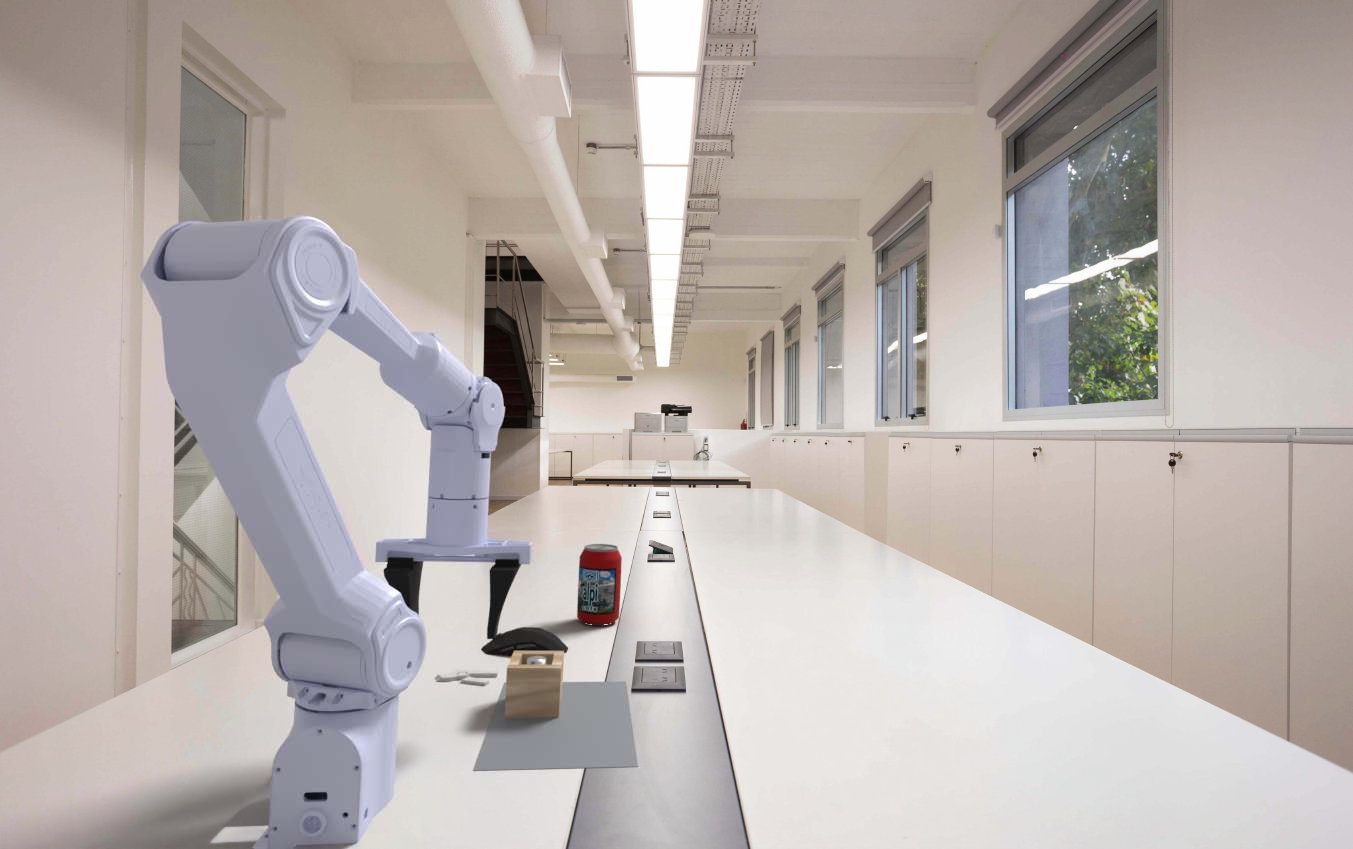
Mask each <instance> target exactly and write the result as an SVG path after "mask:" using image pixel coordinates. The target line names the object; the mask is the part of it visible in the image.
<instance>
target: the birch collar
mask: <svg viewBox="0 0 1353 849" xmlns="http://www.w3.org/2000/svg"><path fill="white" fill-rule="evenodd" d="M532 656H543V657H545V658H546V665H527V658H529V657H532ZM564 658H565V653H564V651H514V652H513V654H512V656H510V659H509V662H508V664H507V667H506V699H505V718H559V713H560V707H561V700H562V685H563V682H564V680H563V679H564V664H565V663H564V661H565V660H564Z"/></svg>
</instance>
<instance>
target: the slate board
mask: <svg viewBox="0 0 1353 849" xmlns="http://www.w3.org/2000/svg"><path fill="white" fill-rule="evenodd" d="M505 699H506V682H504V683H503V686H502V688H501V691H500V693H499V697H498V699H497V703H496V706H495V707H494V711H493V714H492V716H491V719H490V722H489V725H488V728H487V731H486V733H485V736H484V739H483V742H482V745H481V747H480V751H479V753H478V756H477V758H476V762H475V763H474V767H473V769H472V771H473V772H484V771H485V772H487V771H529V770H530V771H531V770H561V769H562V770H567V769H568V770H569V769H575V770H576V769H608V768H609V769H612V768H615V769H616V768H617V769H618V768H639V764H638V758H637V750H636V743H635V737H634V735H635V734H634V728H633V722H632V714H631V708H630V701H629V694H628V686H627V681H563V685H562V700H561V707H560V713H559V718H505Z"/></svg>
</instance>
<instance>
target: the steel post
mask: <svg viewBox="0 0 1353 849" xmlns="http://www.w3.org/2000/svg"><path fill="white" fill-rule="evenodd" d="M527 665H546V658H545V657H543V656H532V657H529V658H527Z"/></svg>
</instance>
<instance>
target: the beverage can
mask: <svg viewBox="0 0 1353 849" xmlns="http://www.w3.org/2000/svg"><path fill="white" fill-rule="evenodd" d="M583 548H584V549H583V550H582V551H581V553H580V555H579V559H578V560H579V562H578V564H579V565H578V578H577V579H578V583H577V588H578V589H577V607H576V610H577V611H576V612H577V613H576V618H577V619H578V620H579V621H581V622H582V623H583V622H584V623H587V624H592V625H604V624H610V623H612V624H614V622H616V621H617V620H618V619H619V618H620V606H621V586H622V583H621V582H622V562H623V561H622V555H621V552H620V550H619V547H618V546H617V545H613V544H609V543H591V544H590V543H589V544H586V545H584V547H583ZM584 623H583V624H584ZM610 625H611V624H610Z"/></svg>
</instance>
